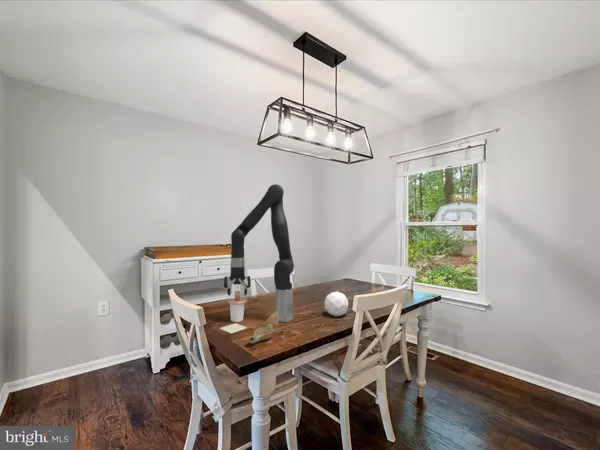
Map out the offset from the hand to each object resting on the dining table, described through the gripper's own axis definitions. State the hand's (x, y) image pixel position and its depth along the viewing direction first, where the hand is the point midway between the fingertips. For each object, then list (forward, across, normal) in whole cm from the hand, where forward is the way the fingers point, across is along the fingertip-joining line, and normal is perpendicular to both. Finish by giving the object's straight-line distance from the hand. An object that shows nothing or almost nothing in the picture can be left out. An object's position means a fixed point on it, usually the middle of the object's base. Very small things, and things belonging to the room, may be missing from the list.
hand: (237, 295), depth 152 cm
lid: (+4, 0, 0) cm, 4 cm away
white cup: (+14, 0, 0) cm, 14 cm away
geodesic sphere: (+14, -57, -6) cm, 59 cm away
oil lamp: (+14, -16, +26) cm, 33 cm away
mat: (+14, 0, +13) cm, 19 cm away
